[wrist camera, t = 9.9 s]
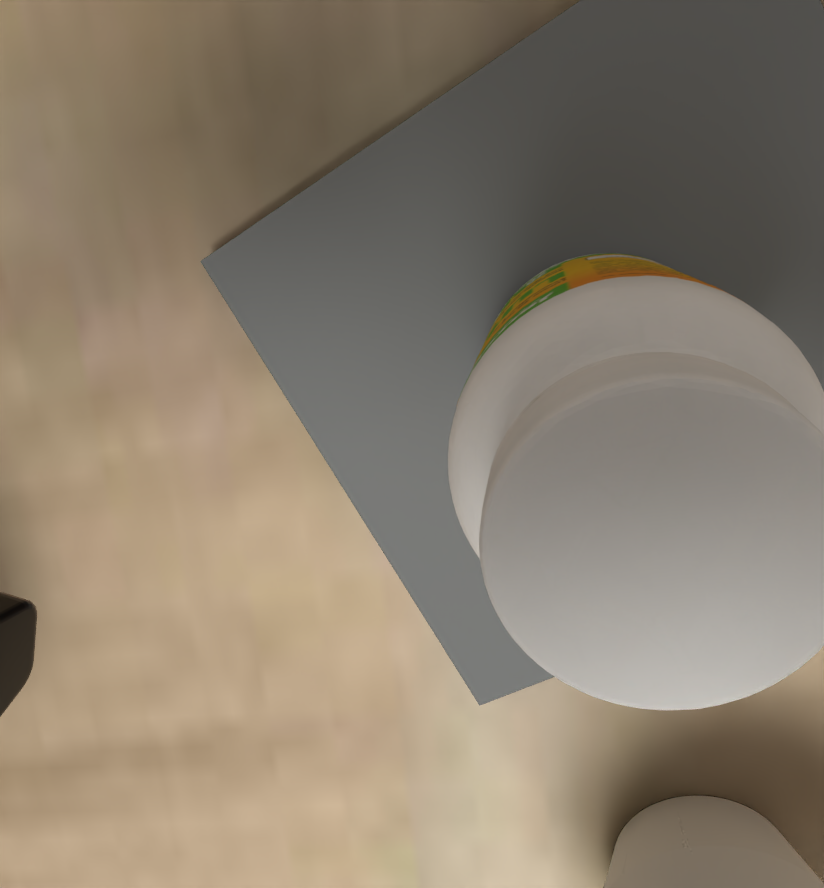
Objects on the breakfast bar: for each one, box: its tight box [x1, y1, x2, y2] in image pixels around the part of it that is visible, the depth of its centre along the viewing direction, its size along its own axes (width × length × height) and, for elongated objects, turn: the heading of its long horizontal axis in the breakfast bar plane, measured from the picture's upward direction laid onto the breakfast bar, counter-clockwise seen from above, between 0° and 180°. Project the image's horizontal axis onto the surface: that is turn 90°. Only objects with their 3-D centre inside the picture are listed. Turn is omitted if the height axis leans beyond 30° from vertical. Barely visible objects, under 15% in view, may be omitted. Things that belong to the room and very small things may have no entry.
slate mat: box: [201, 0, 824, 705], centre depth 17 cm, size 14×14×1 cm
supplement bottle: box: [448, 253, 824, 710], centre depth 12 cm, size 5×5×10 cm
